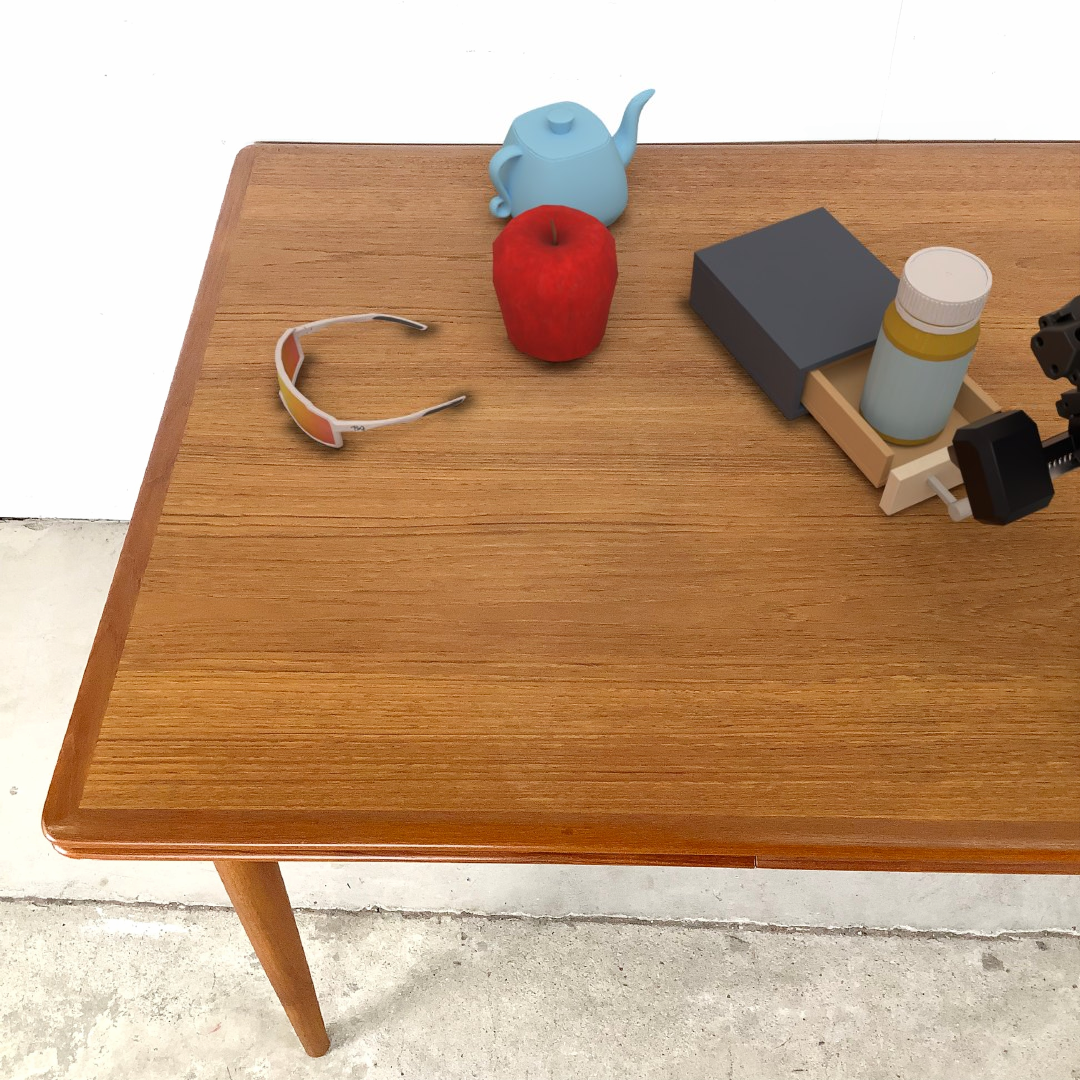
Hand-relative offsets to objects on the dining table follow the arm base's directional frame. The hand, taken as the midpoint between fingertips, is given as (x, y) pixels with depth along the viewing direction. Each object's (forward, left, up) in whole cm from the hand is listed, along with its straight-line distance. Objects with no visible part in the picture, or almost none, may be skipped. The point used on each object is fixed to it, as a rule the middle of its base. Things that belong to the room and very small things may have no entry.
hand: (1005, 430), depth 77 cm
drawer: (+2, -9, -11) cm, 15 cm away
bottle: (+2, -11, -10) cm, 15 cm away
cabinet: (+7, -24, -12) cm, 28 cm away
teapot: (+26, -45, -12) cm, 53 cm away
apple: (+29, -25, -12) cm, 40 cm away
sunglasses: (+46, -21, -12) cm, 52 cm away
